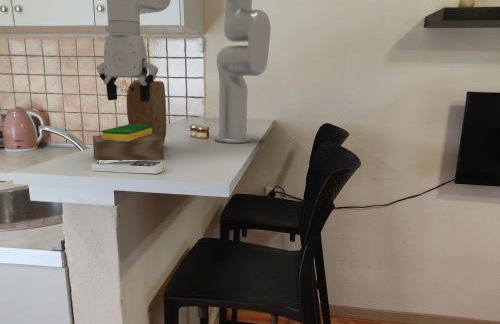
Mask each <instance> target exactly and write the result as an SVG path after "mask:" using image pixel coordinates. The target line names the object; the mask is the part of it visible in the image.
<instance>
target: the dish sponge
mask: <svg viewBox="0 0 500 324" xmlns="http://www.w3.org/2000/svg"><path fill="white" fill-rule="evenodd" d="M151 127H152V126H151V125H134V124H129V123H128V124H125V125H120V126H116V127H111V128H108V129H107V128H106V129H103V130H101V135H102V140H110V141H127V142H128V141H131V140H134V139H137V138H141V137H144V136H147V135H150V134H152V128H151Z"/></svg>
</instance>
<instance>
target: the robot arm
mask: <svg viewBox="0 0 500 324" xmlns="http://www.w3.org/2000/svg"><path fill="white" fill-rule="evenodd" d="M171 2H172V1H171V0H106V13H107V14H106V15H107V25H106V26H104V29H105V32H107V33H108V35H106V36H105V39H104V47H103V48H104V49H103V62H102V63H99V64H98V66H96V71H97V73H98V74H99V78H100V79H101V80H102V81H103V84H104V85H105V86H106V96H107V100H108V101H115V100H117V99H118V87H117V84H115V82H116V81H117V79H118V78H129V79H130V78H131V79H132V78H136V79H137V80H139V81H140V82H141V84H142V86H140V100H141V102H146V101H149V100H150V85H151V84H152V82H153V81H155V79H156V76H157V74H158V71H159V67H158V66H156V65H155V64H153V63H151V62H149V61H148V57H147V56H148V55H147V51H146V46H145V41H144V38H143V36H142V35H141V17H140V16H141V15H143V14H153V13H160V12H163V11H164V10H166V9H167V8H168V7H169V6H170V4H171ZM252 6H253V0H225V10H224V11H225V12H224V22H223V23H224V25H223V28H224V29H223V33H224V34H223V35H224V37H225V38H226V39H227V40H228V41H230V42H233V43H235V42H236V43H247V45H228V46H225V47H222V48H221V49H220V51H219V52H218V54H217V56H216V66H217V67H216V68H217V71H218V73H217V74H218V79H219V80H218V82H219V93H218V94H219V100H218V101H219V103H218V105H219V108H218V109H219V111H218V112H219V113H218V114H219V115H218V117H219V118H218V134H217V135H215V136H214V138H213V139H214V141H215V142H219V143H225V144H226V143H227V144H231V143H232V144H241V143H249V142H251V138H252V137H251V136H248V135H247V130H248V129H247V127H248V126H247V121H248V120H247V119H248V118H247V117H248V116H247V115H248V90H249V89H248V86H247V85H248V84H247V82H246V81H245V78H244V77H245V76H249V77H253V76H254V77H257V76H261V75H262V74H263V73H264V72H265V71H266V70H267V69H266V68H267V66H268V62H269V61H268V60H269V52H270V51H269V50H270V40H271V31H272V29H271V28H272V26H271V21H270V18H269V16H268V14H267V12H265V11H264V10H262V9H252V8H253V7H252ZM148 71H149V74H148Z"/></svg>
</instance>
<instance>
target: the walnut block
mask: <svg viewBox="0 0 500 324" xmlns="http://www.w3.org/2000/svg"><path fill="white" fill-rule="evenodd" d="M164 146H165V145H164V144H163V138H161V137H160V136H158V135H156V134H154V133H152V134H150V135H147V136H144V137H141V138H137V139H134V140H131V141H128V142H127V141H110V140H102V134H101V135H92V147H93V157H94V159H95V161H96V160H98V161H99V160H149V161H160V160H161V161H163V160H164V158H165V157H164V156H165V153H164V152H165V150H164V148H165V147H164Z"/></svg>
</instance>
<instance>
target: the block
mask: <svg viewBox="0 0 500 324" xmlns="http://www.w3.org/2000/svg"><path fill="white" fill-rule="evenodd" d="M140 86H142V84H141V82H140V81H139V80H138V79H134V80H132V82H130V83H129V85H128V88H127V93H126V114H127V121H128V124H134V125H151V126H152V127H151V128H152V133H154V134H156V135H158V136H160V137H161V138H163V145H164V144H165V141H166V140H165V139H166V137H167V136H166V135H167V101H166V98H167V97H166V88H165V83H164V81H161V80H154V81H153V82H152V84H151V85H150V100H149V101H146V102H141V100H140Z"/></svg>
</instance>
